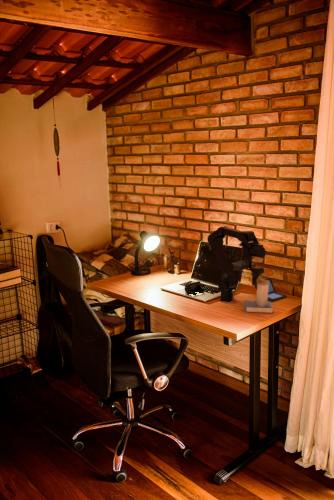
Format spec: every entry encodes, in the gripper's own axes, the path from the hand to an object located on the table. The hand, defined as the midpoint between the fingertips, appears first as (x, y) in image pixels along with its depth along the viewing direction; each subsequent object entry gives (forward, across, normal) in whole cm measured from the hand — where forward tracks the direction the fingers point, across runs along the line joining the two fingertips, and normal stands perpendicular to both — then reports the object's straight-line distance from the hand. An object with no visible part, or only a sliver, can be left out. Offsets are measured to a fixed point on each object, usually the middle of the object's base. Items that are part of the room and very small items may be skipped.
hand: (246, 283), depth 249 cm
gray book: (+13, +6, +3) cm, 15 cm away
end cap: (+12, -34, -4) cm, 37 cm away
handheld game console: (+13, -2, +25) cm, 29 cm away
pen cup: (+10, +8, +3) cm, 13 cm away
